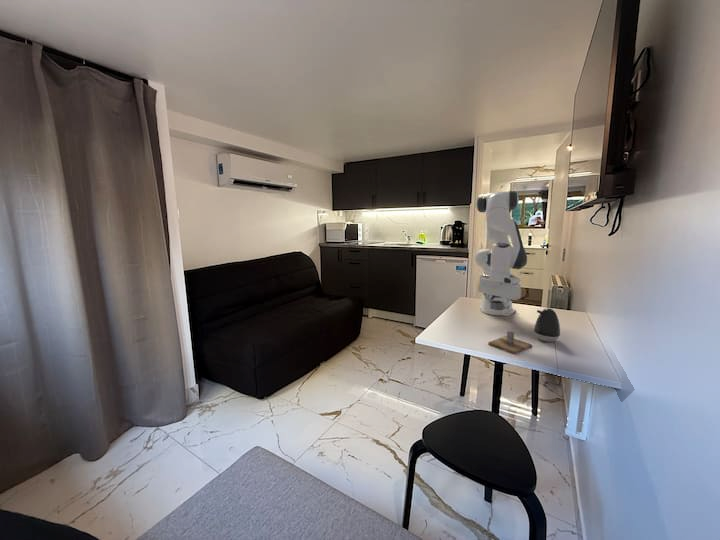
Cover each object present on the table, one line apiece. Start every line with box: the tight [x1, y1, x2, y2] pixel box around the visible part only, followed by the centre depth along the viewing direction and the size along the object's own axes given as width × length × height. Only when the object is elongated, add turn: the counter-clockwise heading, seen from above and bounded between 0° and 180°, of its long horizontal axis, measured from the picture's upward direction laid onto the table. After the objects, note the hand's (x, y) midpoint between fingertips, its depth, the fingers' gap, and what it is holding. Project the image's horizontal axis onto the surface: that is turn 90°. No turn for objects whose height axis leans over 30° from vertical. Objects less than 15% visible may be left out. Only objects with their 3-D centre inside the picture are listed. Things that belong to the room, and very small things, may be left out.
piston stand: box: [488, 331, 533, 355], centre depth 131 cm, size 14×12×6 cm
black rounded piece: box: [533, 308, 561, 343], centre depth 136 cm, size 10×10×15 cm
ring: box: [489, 300, 505, 310], centre depth 144 cm, size 7×7×3 cm
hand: (497, 304), depth 143 cm, fingers closed on ring, 7 cm apart
